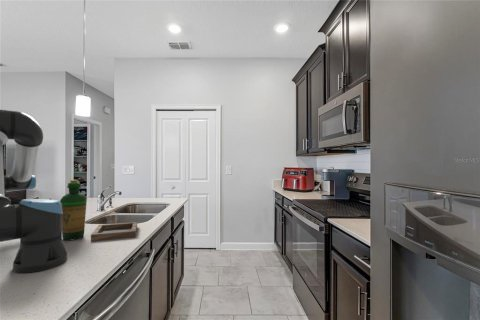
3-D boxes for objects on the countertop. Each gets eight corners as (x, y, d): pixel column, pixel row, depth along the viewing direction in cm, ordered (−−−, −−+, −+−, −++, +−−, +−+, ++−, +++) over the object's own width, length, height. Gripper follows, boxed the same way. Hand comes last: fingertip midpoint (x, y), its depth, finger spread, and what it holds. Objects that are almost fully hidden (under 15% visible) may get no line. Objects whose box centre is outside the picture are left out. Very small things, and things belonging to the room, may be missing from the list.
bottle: (60, 243, 109) (61, 181, 110) (59, 237, 118) (59, 179, 118) (87, 238, 116) (88, 180, 116) (84, 233, 124) (85, 179, 125)
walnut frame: (135, 237, 119) (135, 231, 119) (90, 241, 112) (90, 234, 112) (137, 227, 137) (137, 221, 137) (98, 230, 130) (98, 224, 130)
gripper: (27, 208, 127) (70, 207, 129) (-20, 219, 102) (34, 219, 104) (27, 193, 127) (70, 193, 129) (-19, 201, 102) (35, 201, 104)
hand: (54, 205), depth 116 cm, fingers open, 13 cm apart
